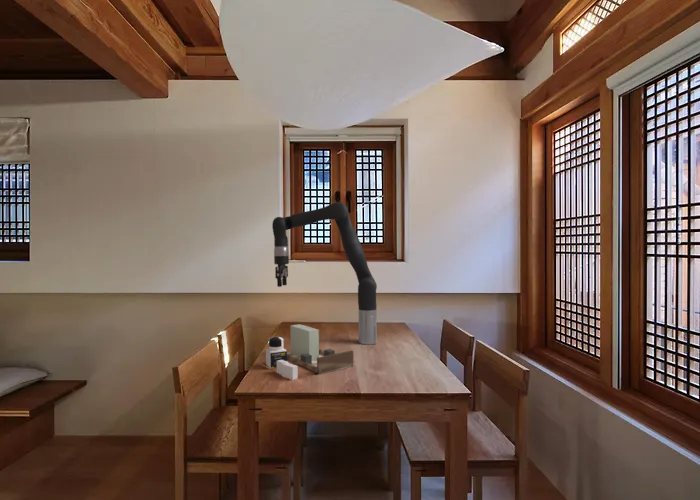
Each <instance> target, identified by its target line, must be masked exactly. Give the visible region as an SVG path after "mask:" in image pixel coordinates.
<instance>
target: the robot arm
mask: <svg viewBox="0 0 700 500" xmlns="http://www.w3.org/2000/svg"><path fill="white" fill-rule="evenodd" d="M326 220H327V221H328V220H329V221H330V220H333V221H334V222H335V223H336V226H337V228H338V230H339V234H340V241H341V245H342V247H343V252H344V253H345V256H346V258H347V259H348V260H347V261H348V262H349V264H350V266H351V267H352V269H353V270H354V272H355V275H356V278H357V279H356V280H357V281H358V282H357V283H358V285H357V304H358V343H359V344H361V345H376V344H377V340H378V338H377V337H378V336H377V335H378V334H377V333H378V331H377V330H378V324H377V282H376V281H375V278H374V276H373V275H372V273H371V271H370V268H369V265H368V262H367V258H366V254H365V252H364V249H363V247H362V244H361V241H360V239H359V236H358V235H357V232H356V231H355V229H354V226H353V224H352V221H351V217H350V213H349V209H348V207H347V205H346V204H344V203H343V202H341V201H335V202H333V203H331V204H328V205H327V206H324V207H320V208H317V209H313V210H307V211H302V212H297V213H294V214H291V215H289V216H284V217H281V216H277V217H275V218H274V219H273V220H272V225H271V226H272V232H273V233H272V234H273V238H274V248H273V259H274V260H273V262H274V265H277V266H275V270H274V272H275V274H274V275H275V276H274V277H275V279H276V280H277V283H276V285H277V287H279V288H281V287H282V286H287V285H288V282H287V278H288V277H289V268H288V265H289V263H290V259H289V258H290V257H289V256H290V255H289V242H288V241H289V240H288V236H287V232H286V231H288V230H291V229H295V228H298V227H304V226H308V225H312V224H315V223H317V222H321V221H326Z"/></svg>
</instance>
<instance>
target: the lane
mask: <svg viewBox="0 0 700 500" xmlns="http://www.w3.org/2000/svg"><path fill="white" fill-rule="evenodd" d="M287 361H288V362H289V361H290V362H292V363H294V364H296V365H297V366H301V367H303V368H305V369H308V370H310V371H312V372H314V373H315V374H317V375H318V374H320V375H323V374H328V373H331V372H336V370H337V371H340V370H344V369H345V370H346V369H348V368H349V369H350V368H352V367H353V368H354V350H348V351H344V352H337V353H335V354H332V355H328V356H324V349H321V348H319V357H318V358H317V360H313V361H312V364H309V363H307V362H305V361H302V360H301V358H300V357H298V356H296V355H293V354H291V351H287Z"/></svg>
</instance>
